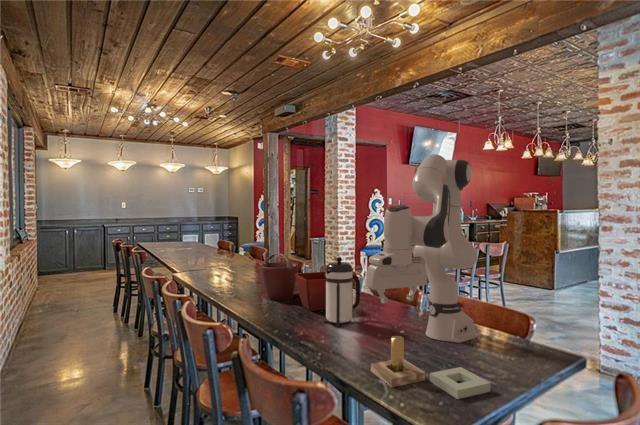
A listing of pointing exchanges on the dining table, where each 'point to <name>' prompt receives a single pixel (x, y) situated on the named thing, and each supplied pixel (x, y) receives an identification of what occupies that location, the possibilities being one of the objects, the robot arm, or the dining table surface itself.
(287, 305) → the dining table surface
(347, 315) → the coffee press
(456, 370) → the socket block
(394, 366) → the pin
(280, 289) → the bucket
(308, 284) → the plant pot
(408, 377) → the birch mount
